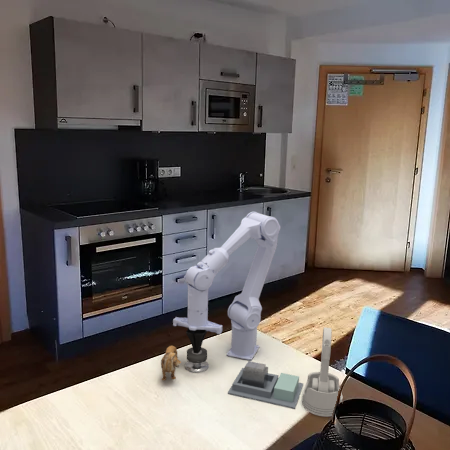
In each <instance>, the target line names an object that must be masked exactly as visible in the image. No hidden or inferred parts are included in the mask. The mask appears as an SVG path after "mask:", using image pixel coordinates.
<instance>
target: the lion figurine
mask: <svg viewBox="0 0 450 450" xmlns="http://www.w3.org/2000/svg"><path fill="white" fill-rule="evenodd" d="M178 358H179V357H178V348H177V347H176V346H174V345H169V346H168V347H166V350H165V354H164V355H163V356H162V358H161V360H160V366H161V372H162V378H161V380H162V381H166V380H167V373H168V374H170V379H171V380H176V376H175V372H176V368H177V369H178V368H179V367H180V365H181V364H182V361H181V360H180V359H178Z"/></svg>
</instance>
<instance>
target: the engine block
mask: <svg viewBox="0 0 450 450" xmlns="http://www.w3.org/2000/svg"><path fill="white" fill-rule="evenodd" d="M243 368H244V369H243V375H242V384H244V385H249V386H254V387H258V388H263V389H265V388H266V386H267V381H268V373H269V366H267V364H266V363H260V362H255V361H252V360H247V363H246V364H245V365H244V367H243Z"/></svg>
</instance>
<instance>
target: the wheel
mask: <svg viewBox="0 0 450 450" xmlns="http://www.w3.org/2000/svg"><path fill="white" fill-rule="evenodd" d="M207 360H208V350H207V349H206V348H204V347H202V346H201V350H200V352H199V353H198V354H197V353H194V352H193V348H192V347H189V348H188V349H187V350H186V361H189V362H191V363H202V362H205V361H206V362H207Z"/></svg>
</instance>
